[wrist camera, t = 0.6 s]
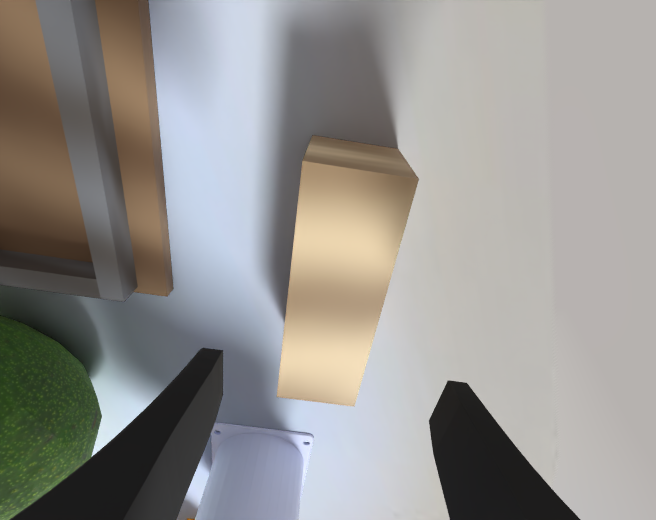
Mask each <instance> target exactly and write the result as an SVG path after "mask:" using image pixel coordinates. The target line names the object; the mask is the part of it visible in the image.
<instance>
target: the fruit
mask: <svg viewBox="0 0 656 520" xmlns="http://www.w3.org/2000/svg"><path fill="white" fill-rule="evenodd" d="M101 418H102V415H101V411H100V407H99V403H98V399H97V396H96V393H95V391H94V388H93V385H92V383H91V380H90V378H89V376H88V374H87V372H86V370H85V367H84V365H83V364H82V363H81V362H80V361H79V360H78V359H77V358H75V357H74V356H73V355H72V354H71V353H70V352H69V351H68V350H67V349H65V348H64V347H63V346H62V345H61V344H60V343H59V342H57V341H55V340H53V339H51V338H50V337H48V336H46V335H44V334H42V333H40V332H39V331H37V330H35V329H33V328H31V327H30V326H28V325H26V324H23V323H21V322H18V321H15V320H12V319H10V318H7V317H4V316H1V315H0V520H9V519H11V518H12V517H14V516H15V515H16V514H18V513H19V512H21V511H22V510H24V509H25V508H27V507H28V506H29V505H31V504H32V503H33V502H35V501H36V500H37V499H39V498H40V497H41V496H43V495H44V494H46V493H47V492H48V491H50V490H51V489H52V488H53V487H55V486H56V485H57V484H59V483H60V482H61V481H62V480H64V479H65V478H66V477H68V476H69V475H70V474H71V473H73V472H74V471H75V470H77V469H78V468H79V467H80V466H82V465H83V464H84V463H85V462H86V461H88V460H89V459H90V458H91V455H92V452H93V448H94V445H95V441H96V437H97V434H98V430H99V426H100V422H101Z"/></svg>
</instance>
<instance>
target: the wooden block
mask: <svg viewBox="0 0 656 520" xmlns="http://www.w3.org/2000/svg"><path fill="white" fill-rule="evenodd" d="M418 180H419V179H418V177H417V176H416V174H415V173H414V171H413V170H412V168H411V167H410V165H409V164H408V162H407V161H406V160H405V158H404V157H403V155H402V154H401V152H400V151H399V149H396V148H389V147H383V146H377V145H371V144H364V143H358V142H352V141H346V140H339V139H333V138H327V137H321V136H314V135H312V138H311V140H310V143H309V145H308V148H307V151H306V153H305V156H304V158H303V161H302V169H301V179H300V188H299V197H298V206H297V215H296V224H295V234H294V243H293V252H292V261H291V270H290V279H289V289H288V298H287V307H286V316H285V325H284V334H283V344H282V353H281V362H280V371H279V380H278V389H277V397H281V398H289V399H297V400H305V401H314V402H322V403H330V404H338V405H346V406H355V402H356V399H357V395H358V392H359V388H360V385H361V381H362V377H363V374H364V370H365V367H366V363H367V360H368V356H369V353H370V349H371V346H372V342H373V339H374V335H375V332H376V328H377V325H378V321H379V318H380V314H381V311H382V307H383V304H384V300H385V296H386V293H387V289H388V286H389V282H390V279H391V275H392V272H393V268H394V265H395V261H396V258H397V254H398V251H399V247H400V244H401V240H402V237H403V233H404V230H405V226H406V223H407V219H408V215H409V212H410V208H411V205H412V201H413V198H414V194H415V191H416V187H417V184H418Z"/></svg>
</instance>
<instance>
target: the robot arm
mask: <svg viewBox="0 0 656 520" xmlns="http://www.w3.org/2000/svg"><path fill="white" fill-rule="evenodd" d="M222 396H223V350H215V349H208V348H202V349H201V350H199V351H198V353H197V354H196V355H195V356H194V357H193V359H192V360H191V361H190V362H189V363H188V364H187V366H186V367H185V368H184V369H183V370H182V371H181V372H180V373H179V375H178V376H177V377H176V378H175V379H174V380H173V381H172V382H171V383H170V384H169V385H168V386H167V387H166V388H165V389H164V390H163V391H162V392H161V394H160V395H159V396H158V397H157V398H156V399H155V400H154V401H153V402H152V403H151V404H150V405H149V406H148V407H147V408H146V409H145V410H144V411H143V412H142V413H140V414H139V415H138V416H137V417H136V418H135V419H134V420H133V421H132V422H131V423H130V424H129V425H128V426H127V427H126V428H124V429H123V430H122V431H121V432H120V433H119V434H118V435H117V436H116V437H115V438H113V439H112V440H111V441H110V442H109V443H108V444H107V445H105V446H104V447H103V448H102V449H101V450H100V451H98V452H97V453H96V454H95V455H94V456H92V457H91V458H90V459H89V460H88V461H86V462H85V463H84V464H83V465H82V466H80V467H79V468H78V469H77V470H75V471H74V472H73V473H71V474H70V475H69V476H68V477H66V478H65V479H64V480H62V481H61V482H60V483H59V484H57V485H56V486H55V487H53V488H52V489H51V490H50V491H48V492H47V493H46V494H44V495H43V496H41V497H40V498H39V499H37V500H36V501H35V502H33V503H32V504H31V505H29V506H28V507H27V508H25V509H24V510H22V511H21V512H19V513H18V514H16V515H15V516H14V517H12V518H11V519H9V520H176V519H177V516H178V514H179V511H180V508H181V506H182V503H183V501H184V498H185V496H186V493H187V491H188V488H189V486H190V483H191V481H192V479H193V476H194V474H195V471H196V469H197V466H198V464H199V461H200V459H201V457H202V454H203V452H204V449H205V447H206V444H207V442H208V439H209V437H210V434H211V448H212V468H211V471H210V474H209V477H208V480H207V483H206V486H205V490H204V493H203V496H202V499H201V502H200V505H199V508H198V512H197V515H196V518H195V520H299V509H300V498H301V496H302V491H303V487H304V482H305V477H306V473H307V468H308V464H309V459H310V455H311V450H312V445H313V441H314V436H313V435H311V434H307V433H299V432H291V431H283V430H275V429H267V428H259V427H250V426H242V425H234V424H226V423H215V420H216V417H217V413H218V410H219V406H220V403H221V399H222ZM429 424H430V432H431V440H432V447H433V454H434V458H435V462H436V466H437V470H438V474H439V478H440V482H441V486H442V490H443V494H444V498H445V502H446V505H447V509H448V513H449V517H450V520H580V519H579V518H578V517H577V516H576V515H575V513H574V512H573V511H572V510H571V509H570V508H569V507H568V506H567V505H566V504H565V503H564V502H563V501H562V500H561V499H560V498H559V496H557V494H556V493H555V492H554V491H553V490H552V489H551V488H550V486H549V485H548V484H547V483H546V482H545V481H544V479H543V478H542V477H541V476H540V475H539V474H538V473H537V471H536V470H535V469H534V468H533V467H532V466H531V464H530V463H529V462H528V461H527V460H526V458H525V457H524V456H523V455H522V454H521V452H520V451H519V450H518V449H517V447H516V446H515V445H514V444H513V442H512V441H511V440H510V439H509V437H508V436H507V435H506V434H505V432H504V431H503V430H502V428H501V427H500V426H499V425H498V423H497V422H496V421H495V419H494V418H493V417H492V415H491V414H490V413H489V412H488V410H487V409H486V408H485V406H484V405H483V404H482V402H481V401H480V400H479V398H478V397H477V396H476V394H475V393H474V392H473V390H472V389H471V388H470V387H469V385H468V384H467V383H463V382H456V381H448V382H447V384H446V386H445V388H444V390H443V392H442V394H441V397H440V399H439V401H438V403H437V405H436V407H435V409H434V411H433V413H432V415H431V418H430V420H429ZM216 430H217V431H220V433H218V432H215V431H216ZM305 441H307V442H309V443H304V442H305Z"/></svg>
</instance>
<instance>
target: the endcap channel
mask: <svg viewBox="0 0 656 520" xmlns="http://www.w3.org/2000/svg"><path fill="white" fill-rule="evenodd" d="M0 285H5V286H12V287H20V288H27V289H34V290H41V291H49V292H56V293H63V294H70V295H78V296H85V297H92V298H99V299H107V300H114V301H121V302H125V300H126V299H127V298H128V297H129V296H130V295H131V294H132V293H133V292H138V293H145V294H152V295H159V296H166V297H168V295H169V294H170V292H171V291H172V290H173V279H172V267H171V256H170V245H169V233H168V222H167V210H166V199H165V187H164V176H163V165H162V153H161V142H160V130H159V119H158V107H157V96H156V85H155V73H154V62H153V50H152V39H151V27H150V16H149V5H148V0H0Z"/></svg>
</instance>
